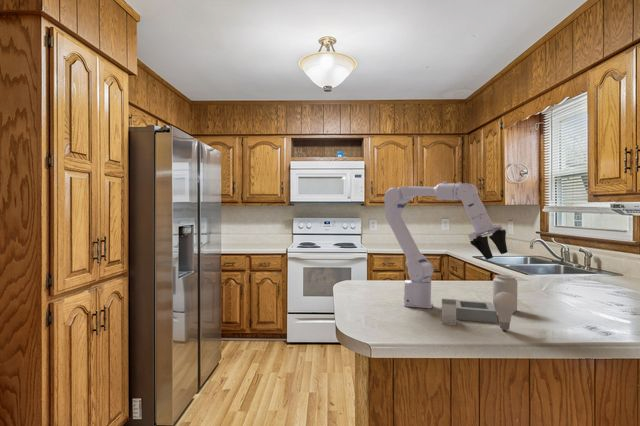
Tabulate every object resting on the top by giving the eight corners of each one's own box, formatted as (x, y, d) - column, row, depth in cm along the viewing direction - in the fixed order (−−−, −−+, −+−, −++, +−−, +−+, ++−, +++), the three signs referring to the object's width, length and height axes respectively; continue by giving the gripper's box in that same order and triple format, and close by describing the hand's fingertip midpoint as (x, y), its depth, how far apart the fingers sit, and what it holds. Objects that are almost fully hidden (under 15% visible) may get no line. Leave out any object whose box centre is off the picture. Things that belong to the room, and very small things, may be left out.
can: (520, 314, 122) (520, 278, 122) (496, 312, 123) (496, 277, 123) (513, 308, 129) (513, 274, 129) (490, 306, 131) (490, 273, 131)
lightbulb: (515, 335, 100) (516, 295, 100) (491, 331, 104) (491, 292, 104) (517, 329, 105) (517, 291, 105) (494, 325, 109) (494, 288, 109)
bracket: (441, 323, 110) (442, 300, 110) (441, 319, 115) (441, 297, 115) (456, 325, 109) (456, 301, 109) (455, 320, 114) (455, 298, 114)
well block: (454, 319, 115) (455, 307, 115) (453, 309, 127) (453, 299, 127) (496, 322, 112) (496, 311, 111) (491, 312, 123) (491, 302, 123)
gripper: (473, 216, 113) (493, 257, 110) (502, 208, 120) (521, 247, 117) (457, 224, 119) (475, 263, 115) (485, 216, 126) (503, 253, 122)
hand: (497, 256), depth 116 cm, fingers open, 7 cm apart
